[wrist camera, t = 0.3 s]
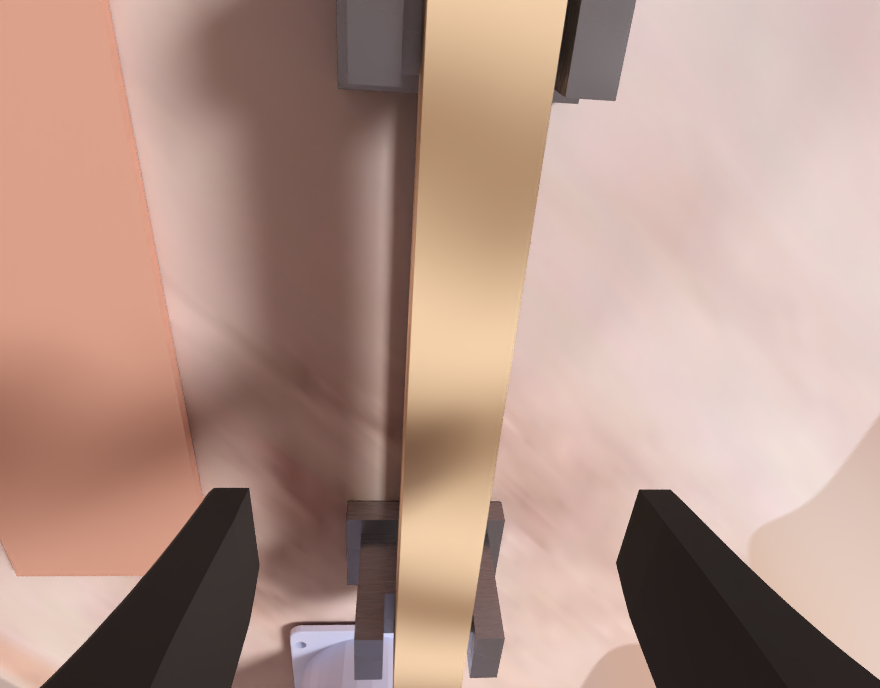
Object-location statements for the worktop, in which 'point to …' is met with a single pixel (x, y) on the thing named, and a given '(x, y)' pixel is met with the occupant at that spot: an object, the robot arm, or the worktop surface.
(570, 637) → the worktop surface
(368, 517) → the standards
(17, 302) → the mat
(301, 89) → the worktop surface
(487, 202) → the rail
